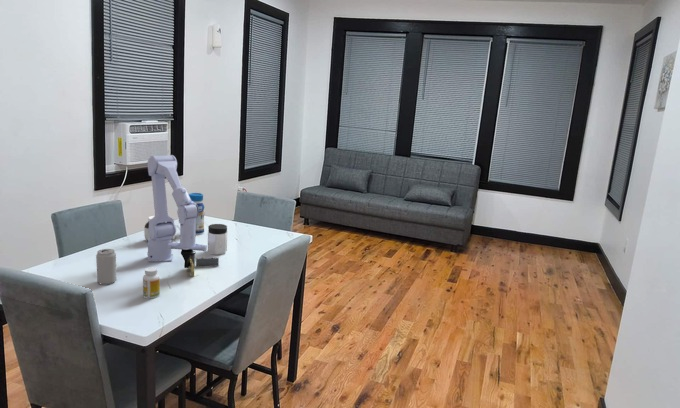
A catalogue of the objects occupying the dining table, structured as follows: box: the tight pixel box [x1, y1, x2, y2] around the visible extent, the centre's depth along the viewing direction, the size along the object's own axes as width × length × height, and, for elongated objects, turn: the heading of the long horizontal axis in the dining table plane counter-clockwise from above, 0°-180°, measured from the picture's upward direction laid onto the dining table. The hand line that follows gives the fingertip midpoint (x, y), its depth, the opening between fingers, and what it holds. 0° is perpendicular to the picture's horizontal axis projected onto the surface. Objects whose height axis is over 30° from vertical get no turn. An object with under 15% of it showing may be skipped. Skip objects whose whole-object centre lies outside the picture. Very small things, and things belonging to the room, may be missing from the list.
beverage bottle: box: [188, 192, 206, 236], centre depth 241 cm, size 8×8×20 cm
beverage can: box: [95, 248, 117, 285], centre depth 176 cm, size 6×6×12 cm
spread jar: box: [143, 215, 176, 242], centre depth 226 cm, size 12×11×12 cm
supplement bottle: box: [142, 266, 161, 299], centre depth 168 cm, size 5×5×10 cm
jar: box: [207, 223, 228, 256], centre depth 217 cm, size 9×8×12 cm
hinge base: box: [190, 250, 220, 269], centre depth 198 cm, size 12×3×7 cm, turn 107°
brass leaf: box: [187, 258, 195, 277], centre depth 191 cm, size 9×1×5 cm, turn 25°
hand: (187, 267), depth 191 cm, fingers closed, pressing on brass leaf
